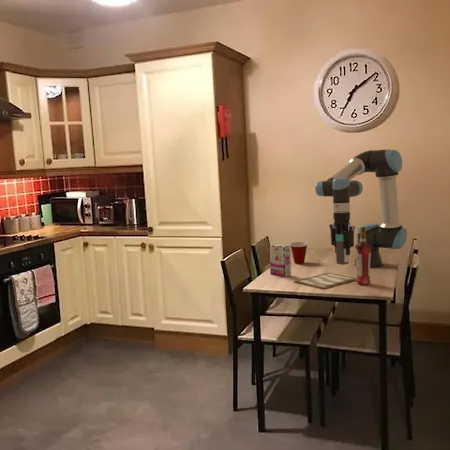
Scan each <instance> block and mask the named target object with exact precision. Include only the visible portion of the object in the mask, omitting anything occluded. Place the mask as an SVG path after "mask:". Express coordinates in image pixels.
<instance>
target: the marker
mask: <svg viewBox="0 0 450 450" xmlns="http://www.w3.org/2000/svg"><path fill="white" fill-rule="evenodd" d="M344 248H345V243H344V235H343V234H342V233H341V234H336V253H335V257H336V258H337V261H336V265H343V266H344V265H347V264H348V265H349V263H350V261H349V262H344Z"/></svg>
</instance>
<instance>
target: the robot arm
mask: <svg viewBox="0 0 450 450" xmlns="http://www.w3.org/2000/svg"><path fill="white" fill-rule="evenodd" d="M402 169H403V158H402V155H401V153H400V152H399V151H398V150H397V149H389V148H388V149H387V148H386V149H376V150H375V149H374V150H373V149H372V150H366V151H363V152H360V153H359V154H357V155H355V156H354V157H352V158H351V159H350V160H349V161H348V162H347V165H345V166H343V167H342V168H341V169H339V170H338V171H337V172H336V173H334V174H333V175H332V176H330V177H329V178H328V179H326V180H321V181H320V180H319V181H317V182H316V184H315V193H316V195H317V196H318V197H324V198H326V197H329V198H330V197H332V202H333V203H332V205H333V206H332V208H333V214H332V215H333V216H332V219H333V220H334V222H333V223H332V224H329V229H330V244H331V245H332V246H334V253H335V254H336V234H341V233H342V234H343V235H344V243H345V248H344V262H349V263H350V255H351V248H353V247H354V246H355V245H354V244H355V238H354V237H355V228H356V227H355V225H352V224H351V223H350V219H351V212H350V211H351V201H350V200H351V199H350V198H353V197H358V196H360V195H361V194H362V192H363V191H364V187H363V184H362V182H360V181H359V180H356V179H355V180H354V178H356V176H361V175H362V174H365V173H374V174H375V177H376V178H377V179H378V183H379V185H378V186H379V195H380V196H379V198H380V209H381V220H382V221H381V223H380V224H379V223H368V224H366V223H365V224H362V225H359V226H357V230H356V231H357V233H356V235H357V244H358V243H360V227H366V231H365V237H366V243H368V244H369V245H371V258H370V268H379V267H382V266H383V259H382V256H381V253H380V249H392V250H401V249H403V247H404V246H405V244H406V242H407V237H408V230H407V229H406V227H403V223H402V222H401V221H399V220H400V218H399V205H398V204H399V203H398V190H397V189H398V188H397V177H398V176H399V174H400V173H399V172H401V171H402ZM335 260H336V262H337V258H336V259H335ZM354 266H356V258H355V260H354Z"/></svg>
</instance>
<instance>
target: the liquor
mask: <svg viewBox="0 0 450 450" xmlns="http://www.w3.org/2000/svg"><path fill="white" fill-rule="evenodd" d="M365 231H366V227H360V243H358V242H357V243H356V244H355V245H354V246H355V249H354V250H355V251H354V252H355V259H356V265H355V266H356V278H357V280H356V281H355V282H356V283H357V284H358V285H360V286H368V285H369V284H370V283H371V282H372V281H371V267H370V258H371V245H369V244H368V243H366V237H365Z"/></svg>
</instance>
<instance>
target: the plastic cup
mask: <svg viewBox="0 0 450 450" xmlns="http://www.w3.org/2000/svg"><path fill="white" fill-rule="evenodd" d="M308 244H309V243H308V242H305V241H294V242H291V243H289V246H290V250H291V253H292V258H293V263H294V264H295V265H304V264H305V259H306V256H307V255H306V253H307V247H308Z"/></svg>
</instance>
